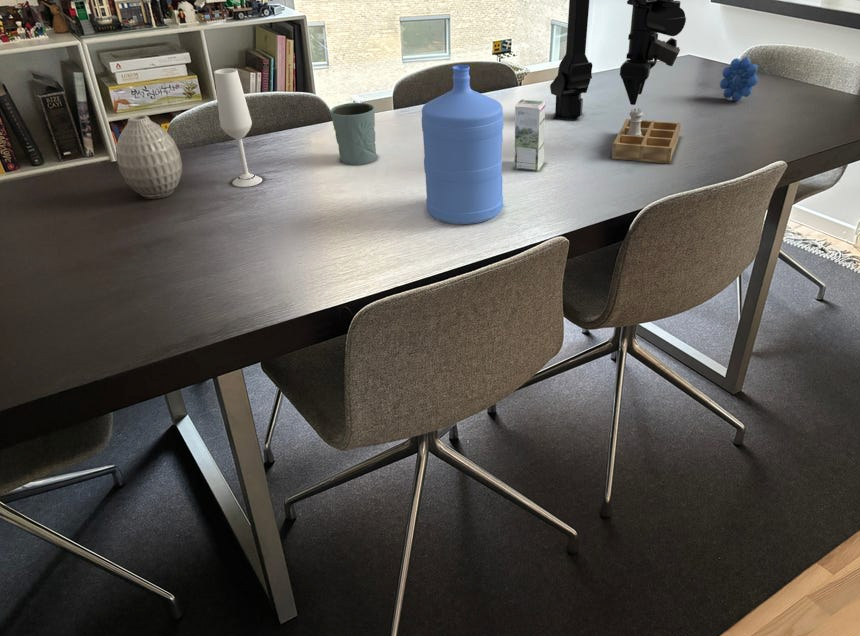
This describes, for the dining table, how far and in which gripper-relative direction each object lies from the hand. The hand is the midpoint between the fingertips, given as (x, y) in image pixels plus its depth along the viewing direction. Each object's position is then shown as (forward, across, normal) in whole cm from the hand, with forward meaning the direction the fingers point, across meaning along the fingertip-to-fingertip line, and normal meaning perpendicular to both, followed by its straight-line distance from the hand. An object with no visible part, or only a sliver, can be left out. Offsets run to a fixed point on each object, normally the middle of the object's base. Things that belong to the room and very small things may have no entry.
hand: (636, 99), depth 178 cm
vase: (+11, -59, +94) cm, 112 cm away
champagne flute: (+11, -47, +79) cm, 93 cm away
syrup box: (+11, -21, +20) cm, 31 cm away
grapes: (+11, +46, -23) cm, 53 cm away
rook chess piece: (+10, -1, -1) cm, 10 cm away
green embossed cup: (+11, -27, +61) cm, 68 cm away
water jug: (+11, -49, +26) cm, 57 cm away
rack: (+11, -1, -4) cm, 12 cm away
